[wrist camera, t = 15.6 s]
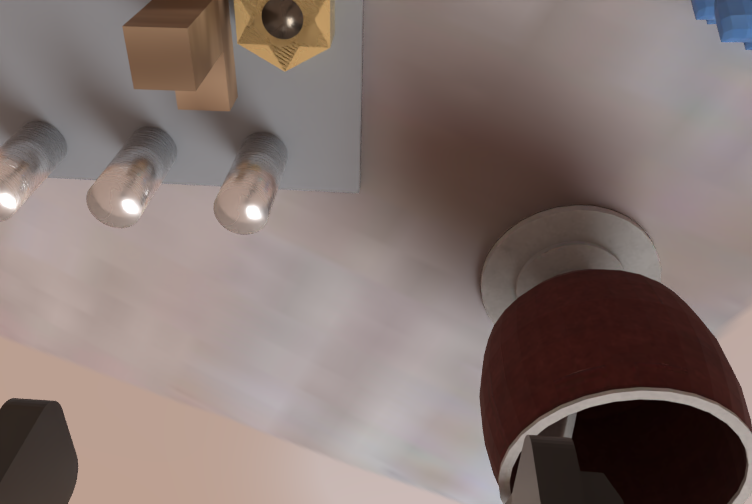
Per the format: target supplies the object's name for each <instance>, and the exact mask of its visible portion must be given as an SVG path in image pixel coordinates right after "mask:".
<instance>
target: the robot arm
mask: <svg viewBox="0 0 752 504" xmlns="http://www.w3.org/2000/svg"><path fill="white" fill-rule="evenodd" d="M77 473H78V459H77V455H76V452H75V449H74V446H73V442H72V439H71V436H70V433H69V430H68V426H67V423H66V420H65V417H64V413H63V410H62V408H61V406H60V404H59V403H58V402H56V401H47V400H32V399H18V398H12V399H10V400H8V401H6V403H4V405H3V406H2V407H1V409H0V504H68V502H69V500H70V497H71V495H72V493H73V490H74V487H75V484H76V480H77ZM512 504H624V502H623V500H622V498H621V497H620V496H619V494H618V493H617V491H616V490H615V489H614V487H613V486H612V484H611V483H610V482H609V480H608V479H607V477H606V476H605V475H604V473H598V472H584V471H580V468H579V464H578V459H577V454H576V450H575V446H574V443H573V440H572V439H571V438H568V437H553V436H538V435H526V437H525V439H524V443H523V447H522V452H521V456H520V461H519V465H518V470H517V474H516V478H515V483H514V487H513V493H512Z"/></svg>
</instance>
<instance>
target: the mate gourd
mask: <svg viewBox="0 0 752 504" xmlns="http://www.w3.org/2000/svg"><path fill="white" fill-rule="evenodd" d="M480 284H481V292H482V300H483V304H484V307H485V309H486V312H487V314H488V316H489V317H490V319H491V320H492V322H493V323H494V324H495V325H494V327H493V329H492V332H491V334H490V337H489V339H488V343H487V346H486V350H485V354H484V361H483V368H482V377H481V387H480V406H481V416H482V427H483V434H484V441H485V446H486V449H487V453H488V456H489V460H490V463H491V467H492V470H493V474H494V476H495V478H496V481H497V483H498V485H499V490H500V497H501V500H502V502H503V504H512V493H513V487H514V483H515V478H516V474H517V470H518V465H519V461H520V456H521V452H522V447H523V443H524V439H525V437H526V435H538V436H553V437H568V438H571V439H572V440H573V443H574V446H575V450H576V454H577V459H578V464H579V468H580V471H584V472H598V473H604V475H605V476H606V477H607V479H608V480H609V482H610V483H611V484H612V486H613V487H614V489H615V490H616V491H617V493H618V494H619V496H620V497H621V498H622V500H623V502H624V504H744V503H745V501H746V500H747V499H748V498H749V496H750V495H751V493H752V425H751V419H750V416H749V412H748V409H747V405H746V402H745V398H744V395H743V392H742V388H741V386H740V384H739V382H738V380H737V378H736V376H735V374H734V372H733V370H732V368H731V366H730V364H729V362H728V360H727V358H726V357H725V355H724V353H723V351H722V349H721V347H720V345H719V343H718V341H717V339H716V338H715V337H714V335H713V334H712V333H711V332H710V330H709V329H708V328H707V327H706V325H705V324H704V323H703V322H702V320H701V319H700V318H699V317H698V316H697V315H696V314H695V312H694V311H693V310H692V309H691V308H690V307H689V306H688V305H687V304H686V303H685V302H684V301H683V300H682V299H681V298H680V297H679V296H678V295H677V294H675V293H674V292H673V291H672V290H670V289H669V288H667V287H666V286H664V285H663V284H661V265H660V260H659V255H658V253H657V251H656V249H655V247H654V245H653V243H652V241H651V239H650V237H649V236H648V235H647V234H646V232H645V231H644V230H643V229H642V228H641V227H640V226H639V225H638V224H637V223H635V222H634V221H632V220H631V219H629V218H628V217H627V216H624V215H622V214H620V213H617V212H615V211H613V210H610V209H606V208H601V207H596V206H585V205H571V206H564V207H556V208H552V209H549V210H546V211H542V212H539V213H537V214H534V215H532V216H530V217H528V218H526V219H524V220H522V221H520V222H519V223H518V224H516V225H515V226H513V227H512V228H511V229H509V230H508V231H507V232H506V233H505V234H504V235H503V236H502V237H501V238H500V239H499V240H498V241H497V242H496V243H495V245H494V246H493V248H492V249H491V251H490V252H489V254H488V256H487V258H486V261H485V263H484V266H483V269H482V275H481V283H480Z"/></svg>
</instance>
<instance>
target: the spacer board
mask: <svg viewBox="0 0 752 504" xmlns="http://www.w3.org/2000/svg"><path fill="white" fill-rule="evenodd" d="M150 1H151V0H0V147H1V146H2V145H3V144H4V143H5V142H6V141H7V140H8V139H9V138H10V137H12V136H13V135H14V134H15V133H16V132H17V131H18V130H19V129H20V128H21V127H23V126H24V125H25V124H26V123H28V122H31V121H43V122H46V123H49V124H51V125H52V126H54V127H55V128H57V129H58V130H59V131H60V132H61V133H62V135H63V136H64V138H65V140H66V143H67V154H66V156H65V158H64V159H63V160H62V161H61V162H60V163H59V165H58V166H57V167H56V168H55V169H54V170H53V171H52V172H51V173H50V175H49V176H48V177H47V178H64V179H84V180H97V179H98V177H99V176H100V175H101V174H102V172H103V171H104V170H105V168H106V167H107V166H108V165H109V163H110V162H111V161H112V159H113V158H114V157H115V156H116V154H117V153H118V152H119V150H120V149H121V148H122V147H123V145H124V144H125V143H126V141H127V140H128V139H129V138H130V136H131V135H132V134H133V132H134V131H136V130H137V129H139V128H141V127H145V126H153V127H157V128H160V129H162V130H163V131H165V132H166V133H168V134H169V135H170V136H171V137H172V139H173V140H174V142H175V144H176V147H177V157H176V160H175V162H174V163H173V165H172V166H171V168H170V170H169V171H168V173H167V174H166V176H165V178H164V179H163V181H162V183H164V184H184V185H204V186H222V185H223V183H224V180H225V178H226V176H227V174H228V172H229V170H230V168H231V166H232V163H233V161H234V159H235V157H236V155H237V153H238V151H239V148H240V146H241V144H242V142H243V140H244V139H245V138H246V137H247V136H248V135H250V134H252V133H255V132H268V133H271V134H274V135H275V136H277V137H278V138H280V139H281V140H282V141H283V143H284V144H285V146H286V148H287V151H288V160H287V163H286V166H285V169H284V172H283V175H282V178H281V181H280V184H279V187H278V189H283V190H303V191H323V192H343V193H359V192H360V176H361V123H362V69H363V16H364V0H335V34H334V38H333V41H332V44H331V47H330V48H329V49H327V50H325V51H323V52H321V53H319V54H318V55H316V56H314V57H312V58H310V59H308V60H306V61H304V62H302V63H300V64H299V65H297V66H295V67H293V68H291V69H289V70H287V71H285V72H284V71H283V70H281V69H279V68H278V67H276V66H274V65H273V64H271V63H269V62H268V61H266V60H264V59H263V58H261V57H259V56H257V55H256V54H254V53H252V52H251V51H249V50H247V49H246V48H244V47H242V46H241V45H239V44H237V34H236V22H235V9H234V0H228V1H229V11H230V21H231V31H232V41H233V52H234V62H235V72H236V82H237V93H238V97H237V99H236V101H235V103H234V105H233V106H232V108H231V110H230V111H205V110H178V107H177V100H176V94H175V91H171V90H142V89H134V88H133V82H132V77H131V71H130V66H129V60H128V55H127V50H126V44H125V39H124V33H123V28H122V26H123V25H124V24H125V23H126V22H128V21H129V20H130V19H131V18H132V17H133V16H134V15H136V14H137V13H138V12H139V11H140V10H141V9H142V8H144V7H145V6H146V5H147V4H148V3H149V2H150Z"/></svg>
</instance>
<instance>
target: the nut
mask: <svg viewBox="0 0 752 504" xmlns="http://www.w3.org/2000/svg"><path fill="white" fill-rule="evenodd" d="M234 9H235V22H236V34H237V44H239V45H241V46H242V47H244V48H246V49H247V50H249V51H251V52H252V53H254V54H256V55H257V56H259V57H261V58H263V59H264V60H266V61H268V62H269V63H271V64H273V65H274V66H276V67H278V68H279V69H281V70H283V71H284V72H285V71H287V70H289V69H291V68H293V67H295V66H297V65H299V64H300V63H302V62H304V61H306V60H308V59H310V58H312V57H314V56H316V55H318V54H319V53H321V52H323V51H325V50H327V49H329V48H330V47H331V44H332V41H333V38H334V34H335V0H234Z"/></svg>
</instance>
